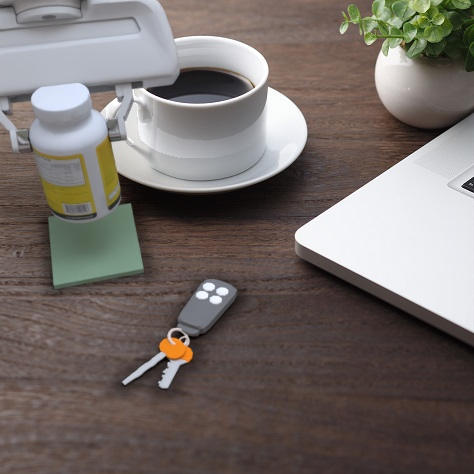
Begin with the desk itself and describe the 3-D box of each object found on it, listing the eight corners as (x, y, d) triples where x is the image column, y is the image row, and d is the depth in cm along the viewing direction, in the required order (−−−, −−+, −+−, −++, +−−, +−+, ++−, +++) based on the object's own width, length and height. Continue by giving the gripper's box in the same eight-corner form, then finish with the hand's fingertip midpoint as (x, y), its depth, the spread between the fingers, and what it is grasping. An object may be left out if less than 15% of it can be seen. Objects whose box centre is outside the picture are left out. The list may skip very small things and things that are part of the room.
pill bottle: (115, 176, 79) (93, 69, 71) (129, 217, 74) (108, 107, 67) (44, 191, 77) (14, 82, 69) (54, 234, 72) (24, 123, 65)
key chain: (204, 284, 76) (203, 272, 75) (240, 296, 75) (239, 284, 74) (121, 385, 67) (118, 374, 66) (161, 401, 66) (158, 389, 65)
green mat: (49, 221, 81) (47, 216, 81) (131, 207, 84) (130, 202, 83) (54, 290, 74) (53, 285, 74) (144, 273, 77) (143, 268, 76)
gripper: (-96, -14, 66) (-69, 156, 65) (164, -35, 70) (191, 123, 70) (-73, 13, 72) (-49, 169, 71) (164, -8, 76) (189, 137, 76)
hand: (72, 146), depth 71 cm, fingers closed on pill bottle, 6 cm apart
